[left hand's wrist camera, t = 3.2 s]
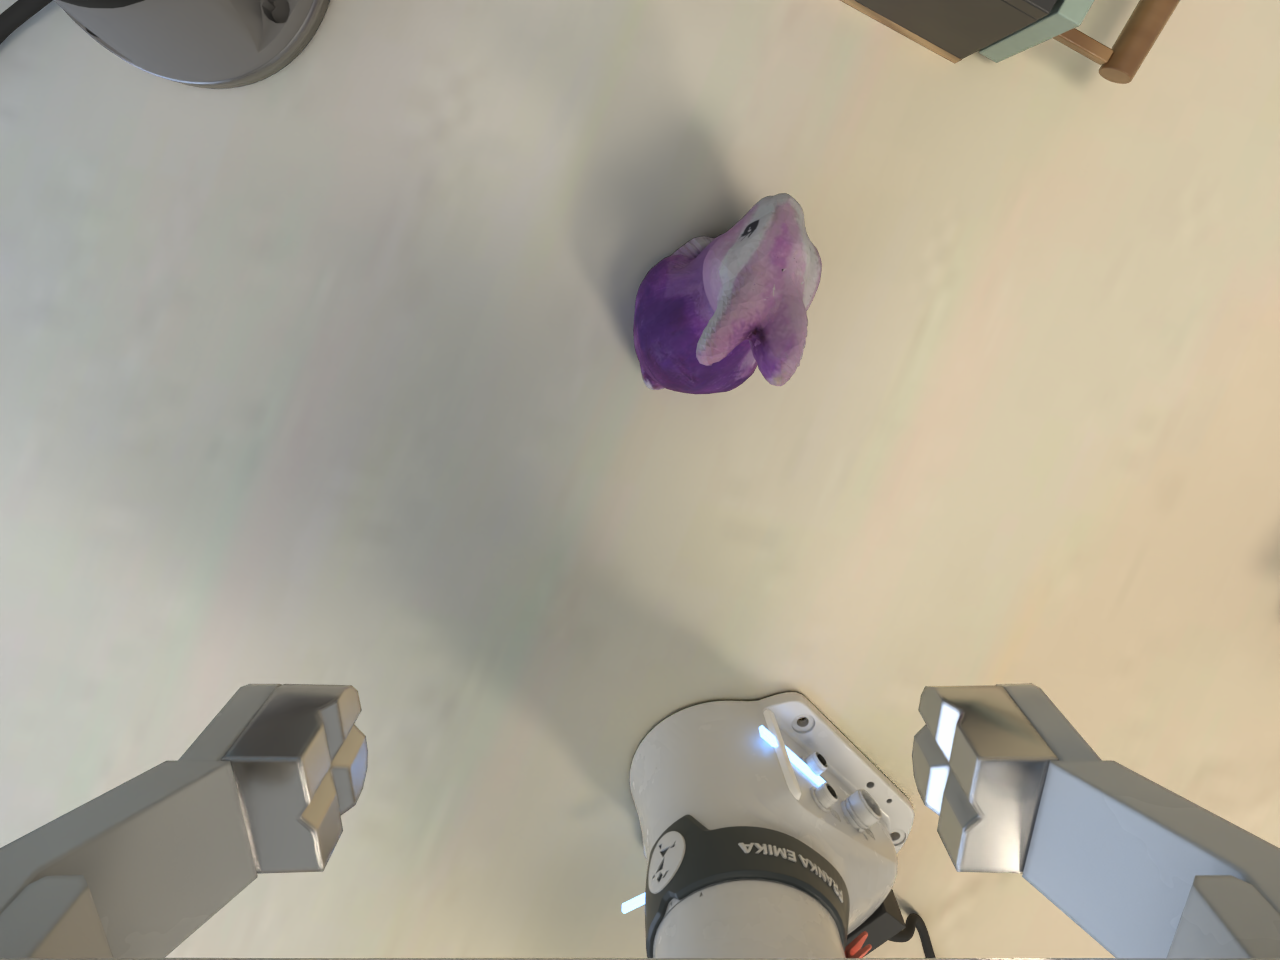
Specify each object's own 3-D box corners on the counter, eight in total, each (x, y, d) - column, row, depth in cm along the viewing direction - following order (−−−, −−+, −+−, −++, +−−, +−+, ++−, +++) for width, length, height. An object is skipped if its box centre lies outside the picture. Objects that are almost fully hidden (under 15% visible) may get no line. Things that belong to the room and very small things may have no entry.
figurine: (780, 195, 42) (849, 182, 28) (791, 369, 46) (857, 435, 31) (619, 218, 43) (606, 216, 29) (642, 388, 46) (640, 462, 32)
